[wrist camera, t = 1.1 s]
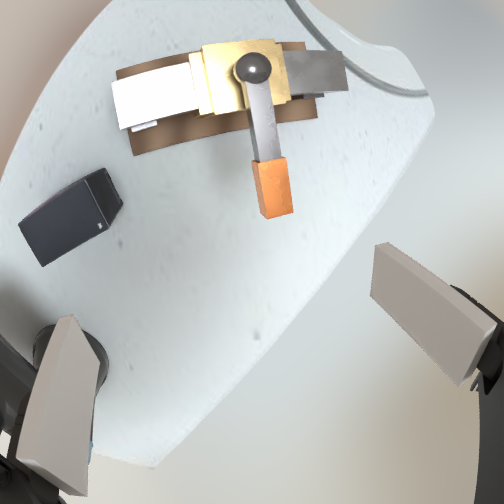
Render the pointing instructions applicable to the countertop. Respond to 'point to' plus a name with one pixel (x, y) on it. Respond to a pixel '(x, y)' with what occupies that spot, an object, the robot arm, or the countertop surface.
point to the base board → (195, 127)
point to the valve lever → (264, 136)
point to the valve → (223, 82)
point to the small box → (71, 217)
